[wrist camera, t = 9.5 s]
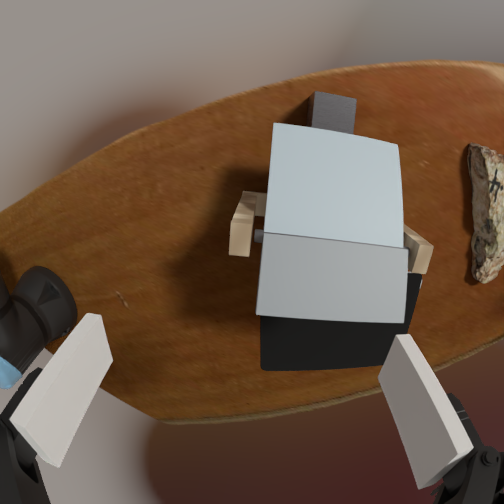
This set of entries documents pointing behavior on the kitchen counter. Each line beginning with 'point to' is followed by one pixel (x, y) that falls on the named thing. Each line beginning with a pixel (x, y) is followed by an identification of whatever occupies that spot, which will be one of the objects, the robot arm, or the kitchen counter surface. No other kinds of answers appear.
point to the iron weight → (331, 112)
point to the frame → (256, 206)
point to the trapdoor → (332, 229)
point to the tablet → (331, 339)
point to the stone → (487, 211)
